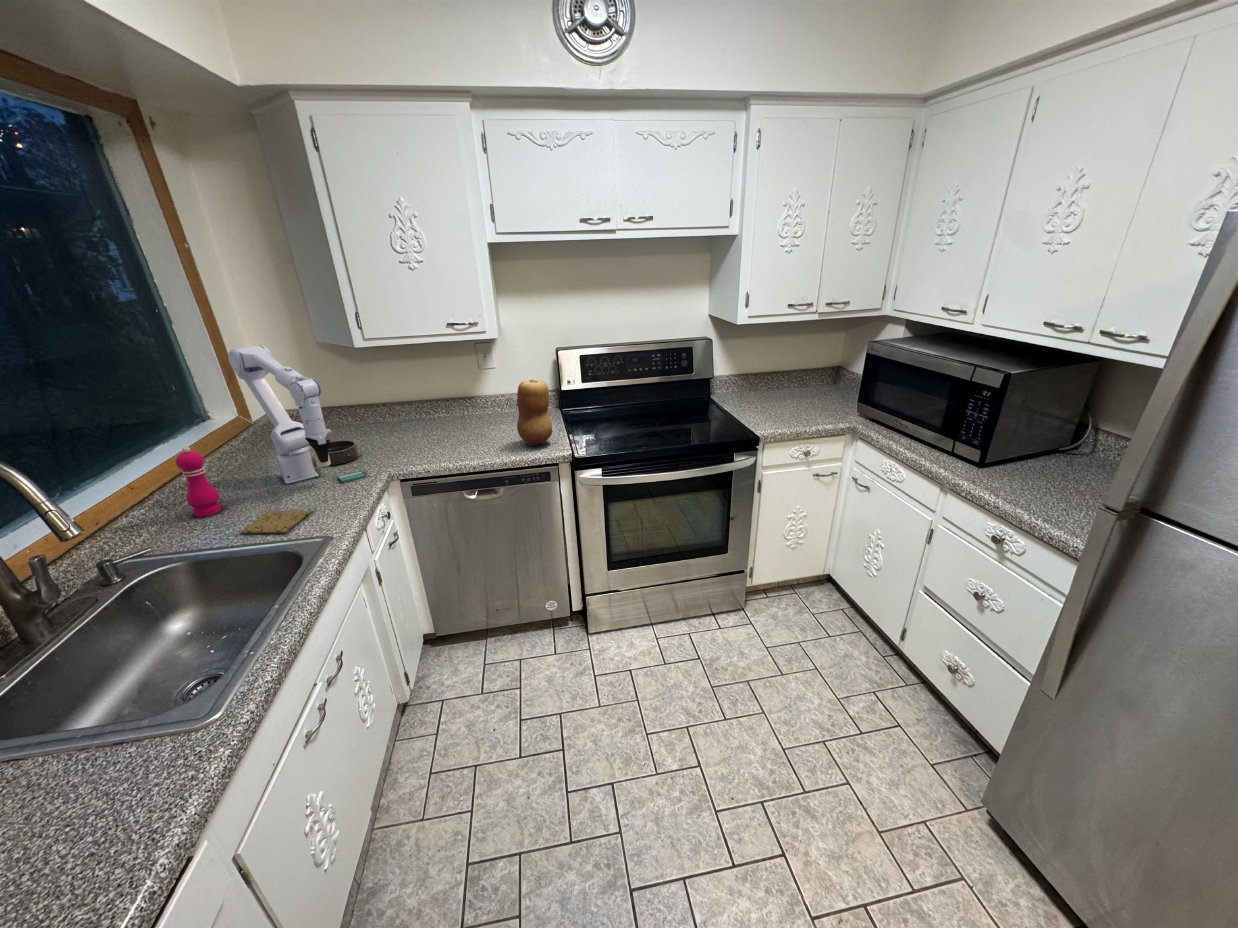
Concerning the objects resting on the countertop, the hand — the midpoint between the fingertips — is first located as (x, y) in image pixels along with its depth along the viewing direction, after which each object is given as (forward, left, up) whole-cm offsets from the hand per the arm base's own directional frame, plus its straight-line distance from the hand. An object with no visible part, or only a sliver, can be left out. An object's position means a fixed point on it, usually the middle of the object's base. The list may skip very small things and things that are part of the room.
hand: (322, 459), depth 160 cm
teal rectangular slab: (+7, 0, -8) cm, 11 cm away
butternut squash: (+70, -13, -8) cm, 72 cm away
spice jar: (0, 0, -2) cm, 2 cm away
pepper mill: (-31, +1, -8) cm, 32 cm away
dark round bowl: (+8, +21, -8) cm, 24 cm away
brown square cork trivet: (-17, -20, -8) cm, 28 cm away
